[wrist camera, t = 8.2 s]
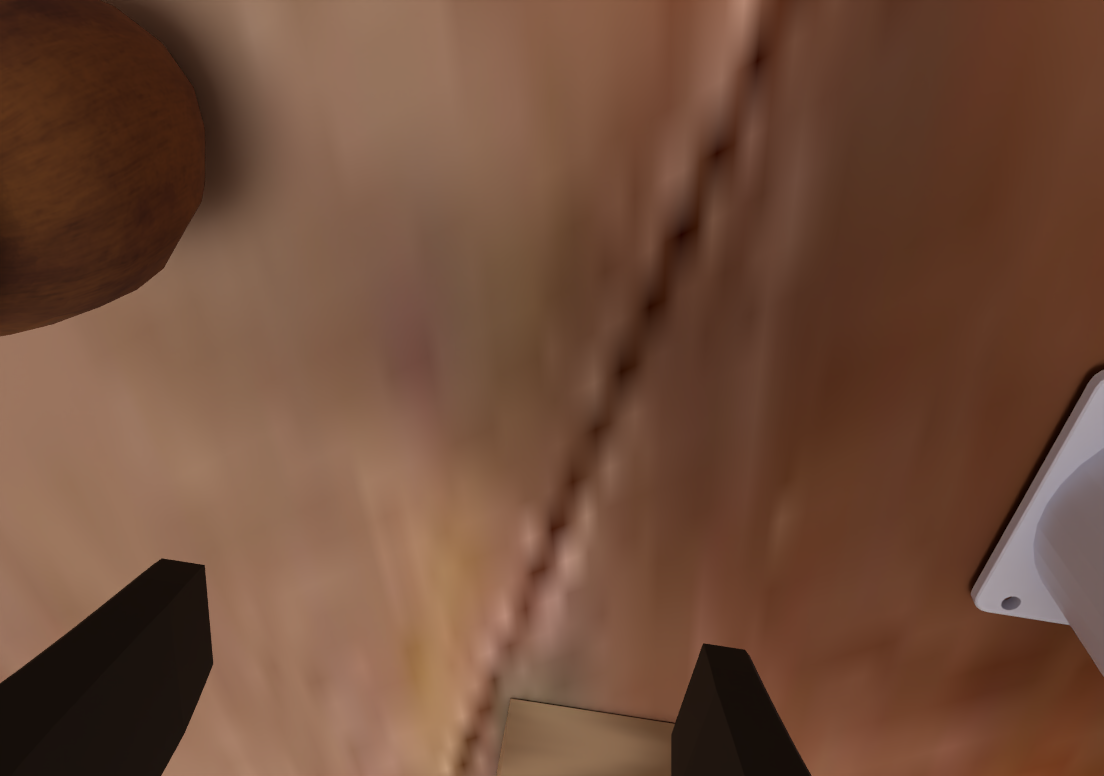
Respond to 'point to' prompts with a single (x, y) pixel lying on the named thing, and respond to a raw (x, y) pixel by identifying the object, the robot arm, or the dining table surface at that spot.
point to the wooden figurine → (89, 158)
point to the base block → (581, 743)
